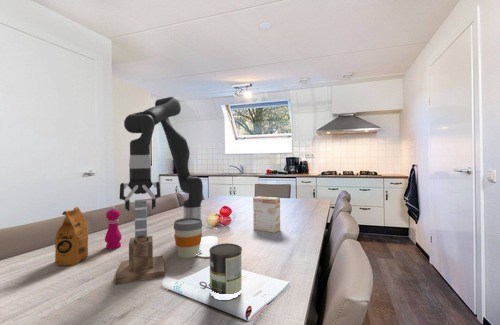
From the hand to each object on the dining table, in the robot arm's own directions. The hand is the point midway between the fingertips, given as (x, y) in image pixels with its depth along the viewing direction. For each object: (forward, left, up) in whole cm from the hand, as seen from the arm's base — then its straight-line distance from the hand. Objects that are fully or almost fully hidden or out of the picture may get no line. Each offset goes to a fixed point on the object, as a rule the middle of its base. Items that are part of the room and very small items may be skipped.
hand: (140, 209), depth 98 cm
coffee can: (-26, +27, -24) cm, 44 cm away
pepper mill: (+14, -34, -24) cm, 44 cm away
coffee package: (+28, -22, -24) cm, 43 cm away
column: (0, 0, -15) cm, 15 cm away
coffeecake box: (-68, -34, -24) cm, 80 cm away
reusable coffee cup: (-19, -11, -24) cm, 32 cm away
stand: (0, 0, -24) cm, 24 cm away
